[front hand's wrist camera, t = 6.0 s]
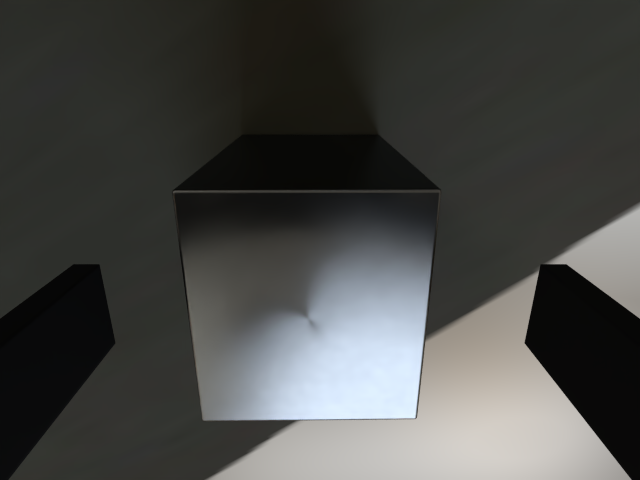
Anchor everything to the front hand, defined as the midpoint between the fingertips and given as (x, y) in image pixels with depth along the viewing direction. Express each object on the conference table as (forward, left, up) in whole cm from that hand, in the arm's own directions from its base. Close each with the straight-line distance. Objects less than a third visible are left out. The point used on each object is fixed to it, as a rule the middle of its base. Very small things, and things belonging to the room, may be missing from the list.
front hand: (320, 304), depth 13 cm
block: (0, 0, -9) cm, 9 cm away
